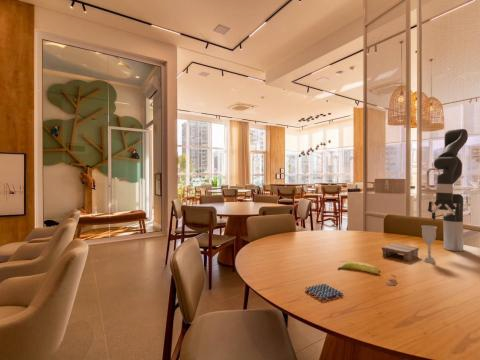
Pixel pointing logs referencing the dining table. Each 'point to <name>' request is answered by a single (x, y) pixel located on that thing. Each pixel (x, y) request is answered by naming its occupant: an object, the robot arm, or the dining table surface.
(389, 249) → the square lamp base
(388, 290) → the dining table surface
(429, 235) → the chalice
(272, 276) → the dining table surface
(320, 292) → the blue patterned piece
